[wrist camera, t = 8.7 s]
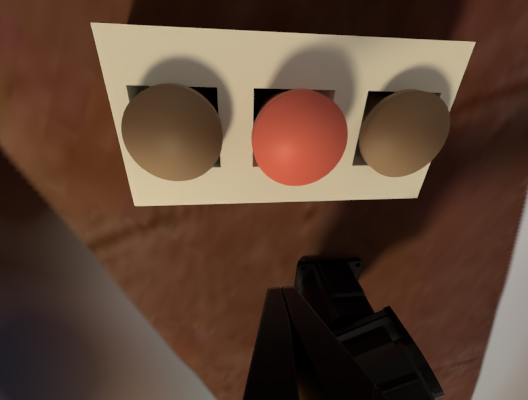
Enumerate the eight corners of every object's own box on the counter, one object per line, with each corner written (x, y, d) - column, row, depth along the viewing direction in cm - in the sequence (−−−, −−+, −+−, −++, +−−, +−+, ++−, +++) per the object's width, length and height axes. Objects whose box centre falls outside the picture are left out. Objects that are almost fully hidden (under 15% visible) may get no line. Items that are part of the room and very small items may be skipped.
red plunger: (310, 149, 19) (338, 185, 14) (245, 150, 18) (252, 187, 14) (319, 78, 17) (357, 92, 12) (245, 76, 16) (253, 90, 11)
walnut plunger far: (384, 145, 20) (431, 176, 16) (326, 146, 20) (357, 178, 15) (402, 79, 18) (464, 92, 13) (336, 77, 17) (377, 90, 13)
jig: (383, 170, 22) (417, 198, 18) (152, 174, 20) (134, 206, 16) (419, 42, 17) (475, 42, 13) (125, 28, 15) (90, 22, 11)
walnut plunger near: (224, 146, 19) (224, 180, 14) (157, 146, 18) (132, 182, 14) (222, 74, 17) (220, 86, 12) (144, 72, 16) (109, 84, 11)
